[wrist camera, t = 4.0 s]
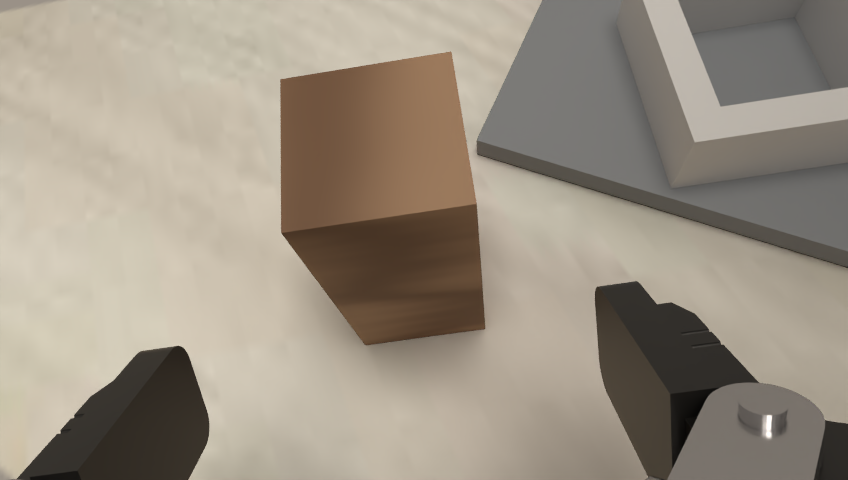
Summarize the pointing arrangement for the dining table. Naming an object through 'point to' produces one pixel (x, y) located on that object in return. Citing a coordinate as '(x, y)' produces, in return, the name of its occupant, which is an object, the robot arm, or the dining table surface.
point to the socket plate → (614, 141)
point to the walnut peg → (384, 196)
